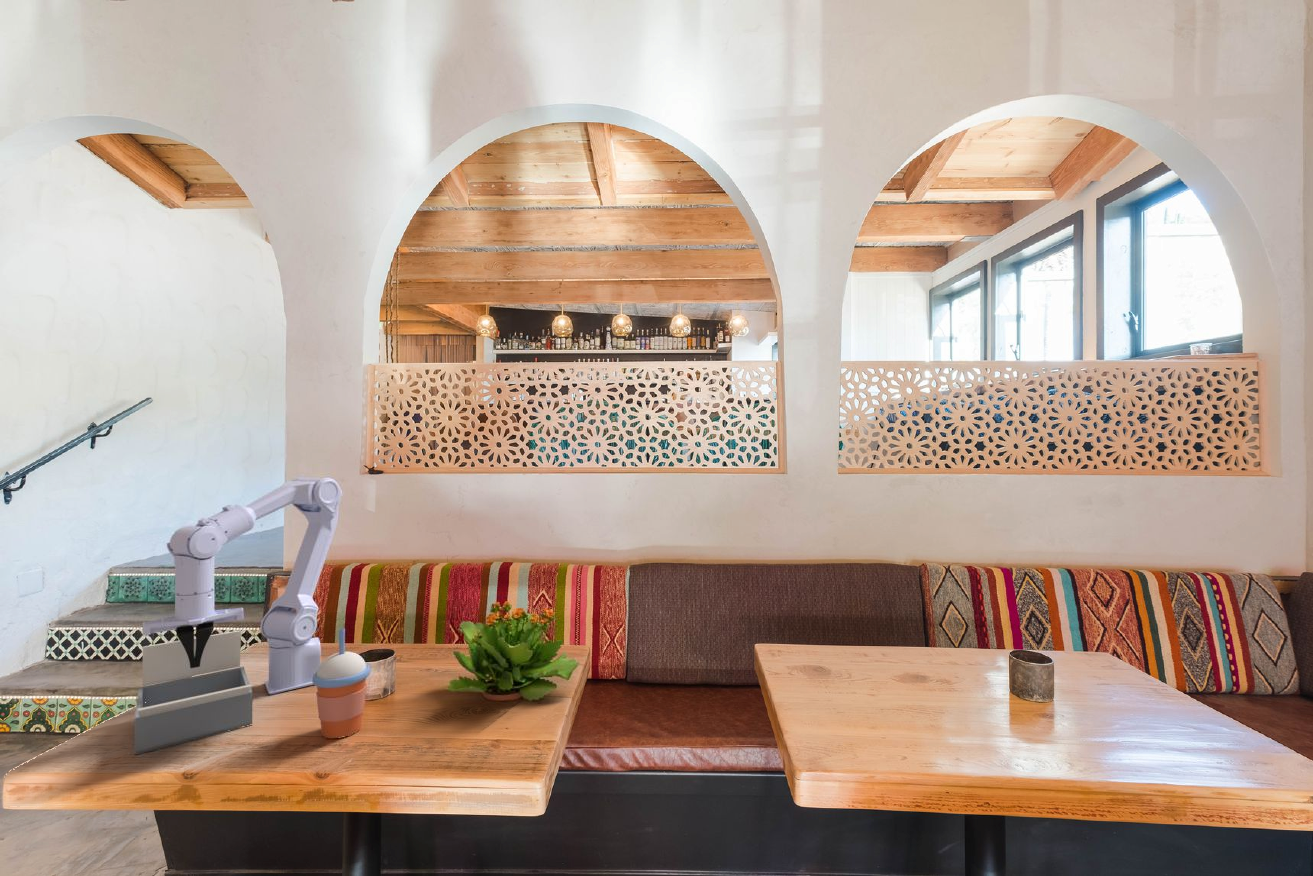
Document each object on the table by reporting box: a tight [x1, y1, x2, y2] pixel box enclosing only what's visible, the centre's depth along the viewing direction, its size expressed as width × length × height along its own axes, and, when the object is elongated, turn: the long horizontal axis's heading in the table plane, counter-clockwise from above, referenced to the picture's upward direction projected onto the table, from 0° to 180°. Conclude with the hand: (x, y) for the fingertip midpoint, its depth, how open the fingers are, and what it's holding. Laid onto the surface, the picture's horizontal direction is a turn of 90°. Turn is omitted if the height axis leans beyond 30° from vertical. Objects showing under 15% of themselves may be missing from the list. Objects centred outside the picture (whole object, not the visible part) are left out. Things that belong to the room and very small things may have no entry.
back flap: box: [142, 629, 242, 687], centre depth 114 cm, size 15×8×1 cm
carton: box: [134, 666, 253, 756], centre depth 108 cm, size 16×16×6 cm
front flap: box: [138, 683, 254, 718], centre depth 100 cm, size 15×8×1 cm, turn 130°
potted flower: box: [446, 600, 580, 702], centre depth 121 cm, size 25×24×18 cm
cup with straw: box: [312, 628, 371, 739], centre depth 105 cm, size 9×9×18 cm
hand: (194, 666), depth 108 cm, fingers closed
